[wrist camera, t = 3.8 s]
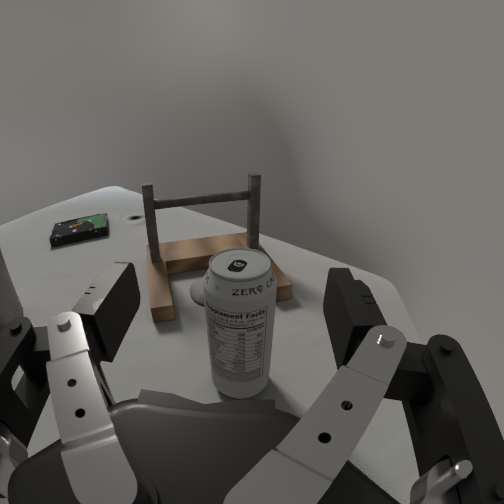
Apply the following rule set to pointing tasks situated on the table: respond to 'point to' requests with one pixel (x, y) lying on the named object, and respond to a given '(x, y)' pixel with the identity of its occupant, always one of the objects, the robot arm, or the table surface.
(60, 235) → the disk drive
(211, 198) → the wooden crossbar stand
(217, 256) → the energy drink can
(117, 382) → the table surface
